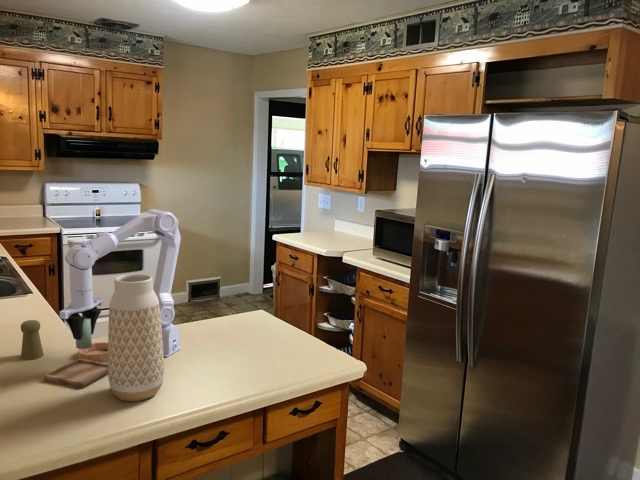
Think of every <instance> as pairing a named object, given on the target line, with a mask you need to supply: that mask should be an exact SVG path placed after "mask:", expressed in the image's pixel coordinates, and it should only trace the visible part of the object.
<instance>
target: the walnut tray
mask: <svg viewBox="0 0 640 480" xmlns="http://www.w3.org/2000/svg"><path fill="white" fill-rule="evenodd" d="M105 377H108V362H103V361H99V362H97V361H91V360H86V359H80V358H77V359H75V360H73V361H71V362H69V363H67V364H64V365H63V366H60V367H58V368H56V369H55V370H53V371H50V372H48V373H46V374H44V375H43V378H44V379H43V380H44V381H43V382H49V383H54V384H58V385H63V386H69V387H73V388H79V389H85V388H87V387H89V386H91V385H92V384H94V383H96V382H98V381H100V380H101V379H103V378H105Z"/></svg>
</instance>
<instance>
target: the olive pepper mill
mask: <svg viewBox="0 0 640 480" xmlns="http://www.w3.org/2000/svg"><path fill="white" fill-rule="evenodd" d="M40 329H41V323H40V321H38V320H37V319H29V320H25V321H23V322H22V323H21V324H20V330H21V332H22V340H21V341H22V344H21V351H20V353H21V355H20V358H21V360H23V361H34V360H39V359H41V358H43V357H44V355H45V353H44V350H43V346H42V341H41V337H40V336H41V335H40V332H39V331H40Z"/></svg>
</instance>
